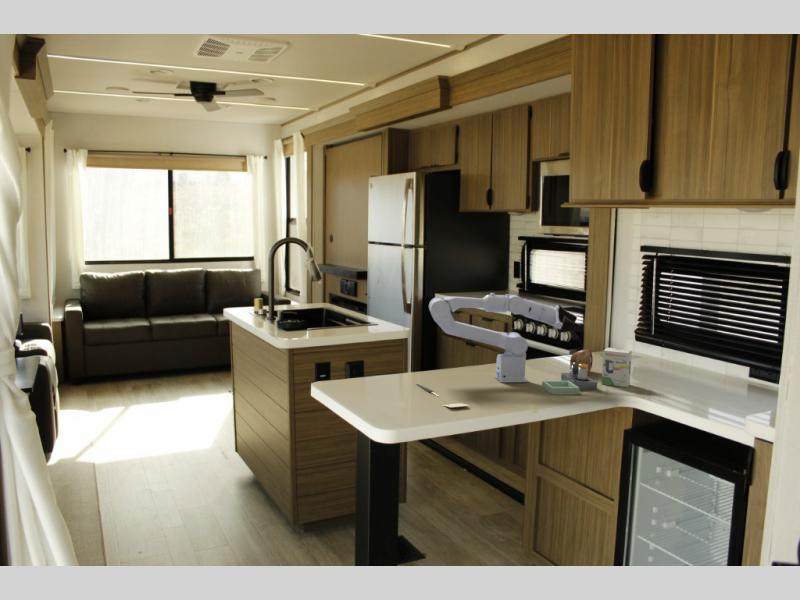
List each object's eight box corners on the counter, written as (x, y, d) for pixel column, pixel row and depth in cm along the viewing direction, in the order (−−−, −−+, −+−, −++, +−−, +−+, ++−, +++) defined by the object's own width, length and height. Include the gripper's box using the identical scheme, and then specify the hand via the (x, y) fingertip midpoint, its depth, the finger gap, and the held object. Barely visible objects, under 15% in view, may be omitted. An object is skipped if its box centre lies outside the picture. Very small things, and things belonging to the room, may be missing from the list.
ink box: (630, 384, 229) (632, 350, 227) (627, 388, 224) (630, 352, 223) (603, 381, 233) (606, 347, 231) (600, 384, 228) (603, 349, 227)
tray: (551, 394, 213) (552, 388, 213) (541, 386, 222) (542, 380, 222) (579, 394, 215) (579, 387, 214) (568, 386, 223) (568, 380, 223)
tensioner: (576, 389, 220) (577, 369, 219) (561, 379, 232) (562, 360, 232) (596, 389, 221) (598, 369, 220) (580, 379, 233) (581, 360, 233)
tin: (576, 378, 235) (577, 354, 234) (567, 377, 237) (568, 353, 236) (592, 371, 247) (594, 348, 246) (584, 369, 249) (585, 347, 248)
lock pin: (579, 388, 222) (580, 365, 221) (575, 385, 225) (577, 363, 224) (588, 388, 222) (589, 365, 221) (584, 385, 225) (585, 363, 224)
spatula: (451, 412, 193) (451, 407, 193) (408, 386, 220) (408, 382, 220) (469, 410, 196) (470, 405, 195) (425, 385, 222) (425, 380, 222)
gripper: (548, 310, 220) (587, 322, 221) (541, 294, 233) (578, 305, 234) (539, 329, 222) (578, 341, 223) (533, 312, 236) (570, 323, 237)
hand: (578, 324), depth 229 cm, fingers open, 7 cm apart
